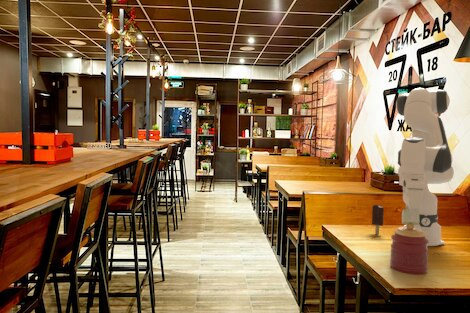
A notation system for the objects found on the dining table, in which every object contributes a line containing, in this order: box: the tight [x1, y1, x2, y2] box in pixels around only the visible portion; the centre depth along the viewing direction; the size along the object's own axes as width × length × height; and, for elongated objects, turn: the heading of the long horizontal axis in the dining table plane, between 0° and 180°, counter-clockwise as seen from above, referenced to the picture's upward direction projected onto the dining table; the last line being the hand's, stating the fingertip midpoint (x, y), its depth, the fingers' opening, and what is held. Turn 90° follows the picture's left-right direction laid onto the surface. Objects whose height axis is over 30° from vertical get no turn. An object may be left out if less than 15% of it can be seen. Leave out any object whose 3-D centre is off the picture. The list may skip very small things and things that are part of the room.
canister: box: [389, 223, 429, 275], centre depth 145 cm, size 13×13×18 cm
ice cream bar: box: [371, 204, 385, 235], centre depth 196 cm, size 5×2×15 cm, turn 62°
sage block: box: [401, 208, 419, 225], centre depth 146 cm, size 4×6×4 cm
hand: (410, 217), depth 145 cm, fingers open, 8 cm apart
